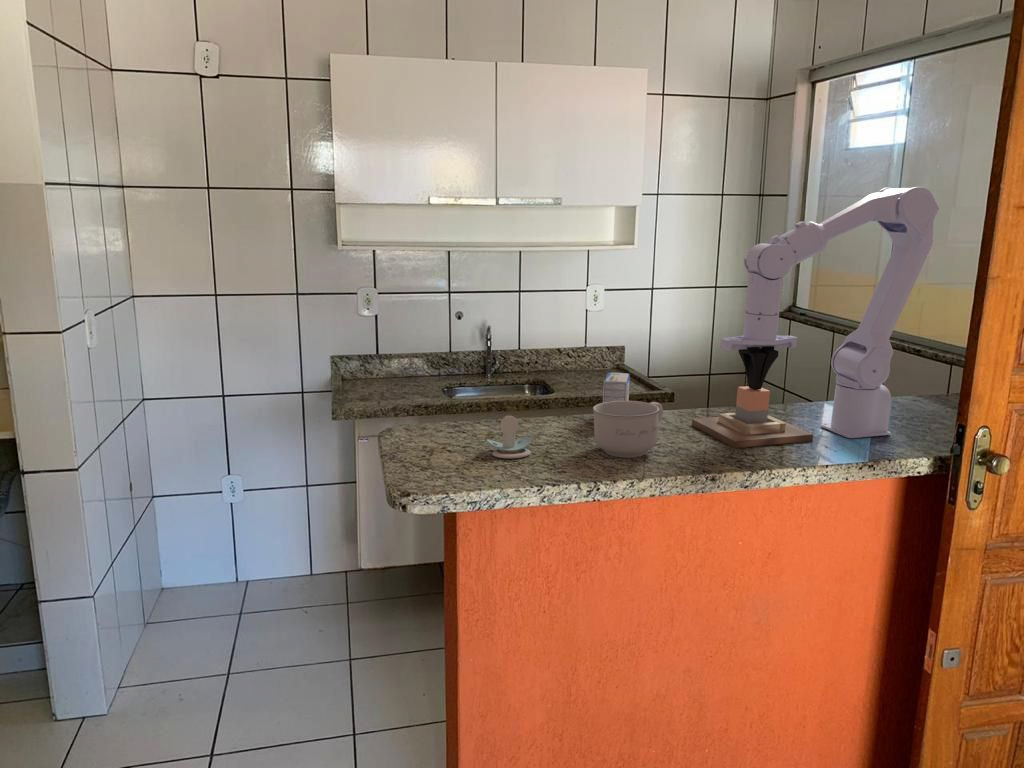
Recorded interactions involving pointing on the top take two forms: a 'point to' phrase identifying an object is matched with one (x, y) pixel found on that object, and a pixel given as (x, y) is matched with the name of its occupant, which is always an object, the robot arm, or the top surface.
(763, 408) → the square peg
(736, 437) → the socket board
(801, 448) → the top surface
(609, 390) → the medicine box
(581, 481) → the top surface
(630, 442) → the teacup
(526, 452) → the pacifier
